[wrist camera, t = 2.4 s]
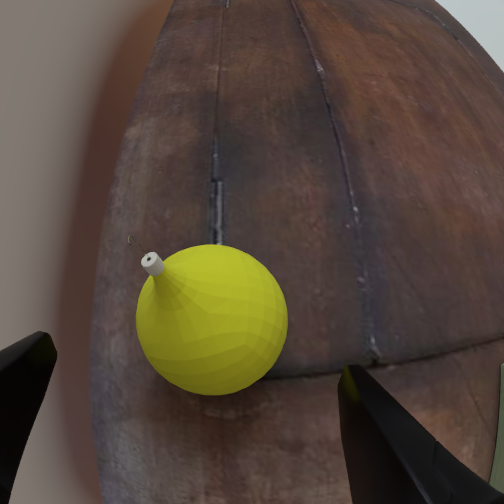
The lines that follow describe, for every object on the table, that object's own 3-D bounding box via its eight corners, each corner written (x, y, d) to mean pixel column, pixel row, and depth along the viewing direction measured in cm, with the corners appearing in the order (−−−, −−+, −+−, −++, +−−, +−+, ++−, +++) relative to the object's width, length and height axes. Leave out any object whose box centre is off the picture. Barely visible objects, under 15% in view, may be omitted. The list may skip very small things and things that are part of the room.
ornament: (164, 269, 19) (97, 179, 9) (278, 272, 19) (308, 177, 9) (157, 384, 16) (65, 397, 7) (279, 389, 16) (319, 418, 7)
